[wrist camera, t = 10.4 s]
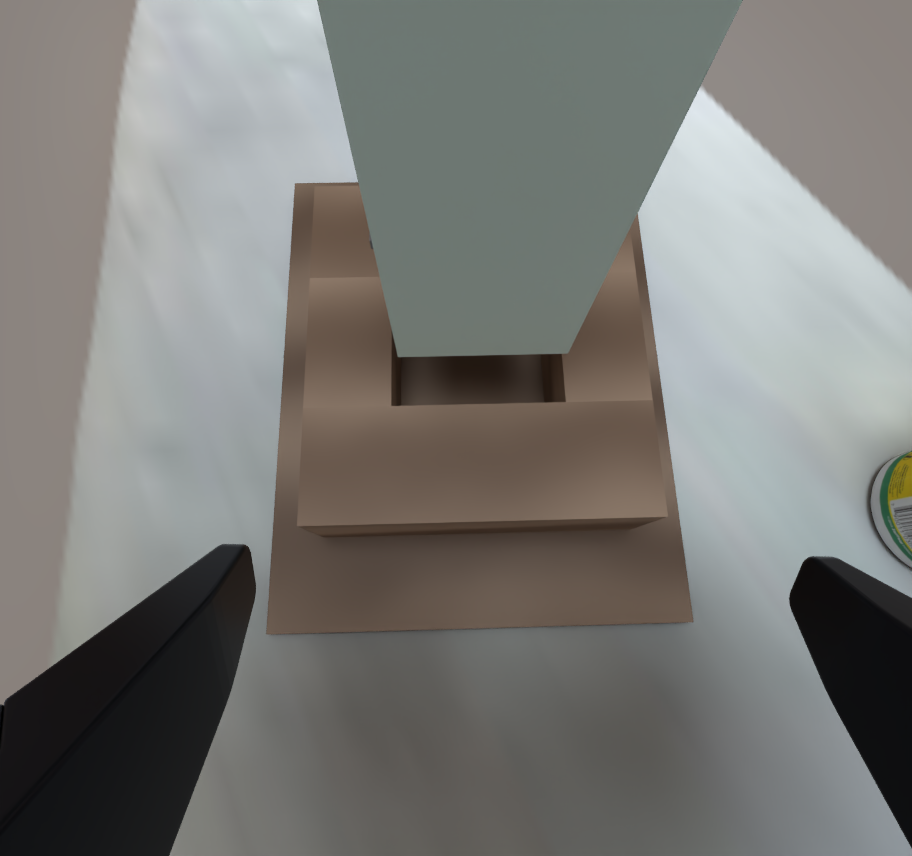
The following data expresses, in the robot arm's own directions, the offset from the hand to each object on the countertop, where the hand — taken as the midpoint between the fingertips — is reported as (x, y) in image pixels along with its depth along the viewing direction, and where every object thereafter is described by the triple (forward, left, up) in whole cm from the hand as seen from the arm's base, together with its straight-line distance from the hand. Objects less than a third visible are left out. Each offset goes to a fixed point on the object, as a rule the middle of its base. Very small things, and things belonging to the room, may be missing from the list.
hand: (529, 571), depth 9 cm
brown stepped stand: (+7, +5, -13) cm, 16 cm away
